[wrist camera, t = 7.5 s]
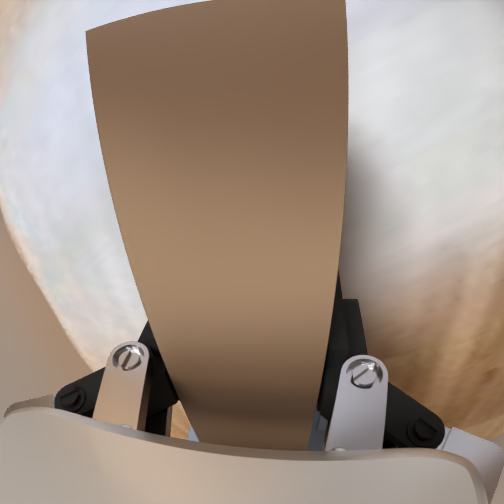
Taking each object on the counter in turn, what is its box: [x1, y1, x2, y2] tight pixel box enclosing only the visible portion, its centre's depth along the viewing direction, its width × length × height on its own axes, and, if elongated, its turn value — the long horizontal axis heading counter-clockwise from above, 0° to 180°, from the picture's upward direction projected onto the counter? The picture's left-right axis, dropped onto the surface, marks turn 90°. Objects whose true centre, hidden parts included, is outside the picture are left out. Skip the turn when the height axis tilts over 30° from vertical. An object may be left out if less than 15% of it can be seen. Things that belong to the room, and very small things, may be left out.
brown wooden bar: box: [86, 0, 348, 451], centre depth 10 cm, size 18×4×7 cm, turn 3°
